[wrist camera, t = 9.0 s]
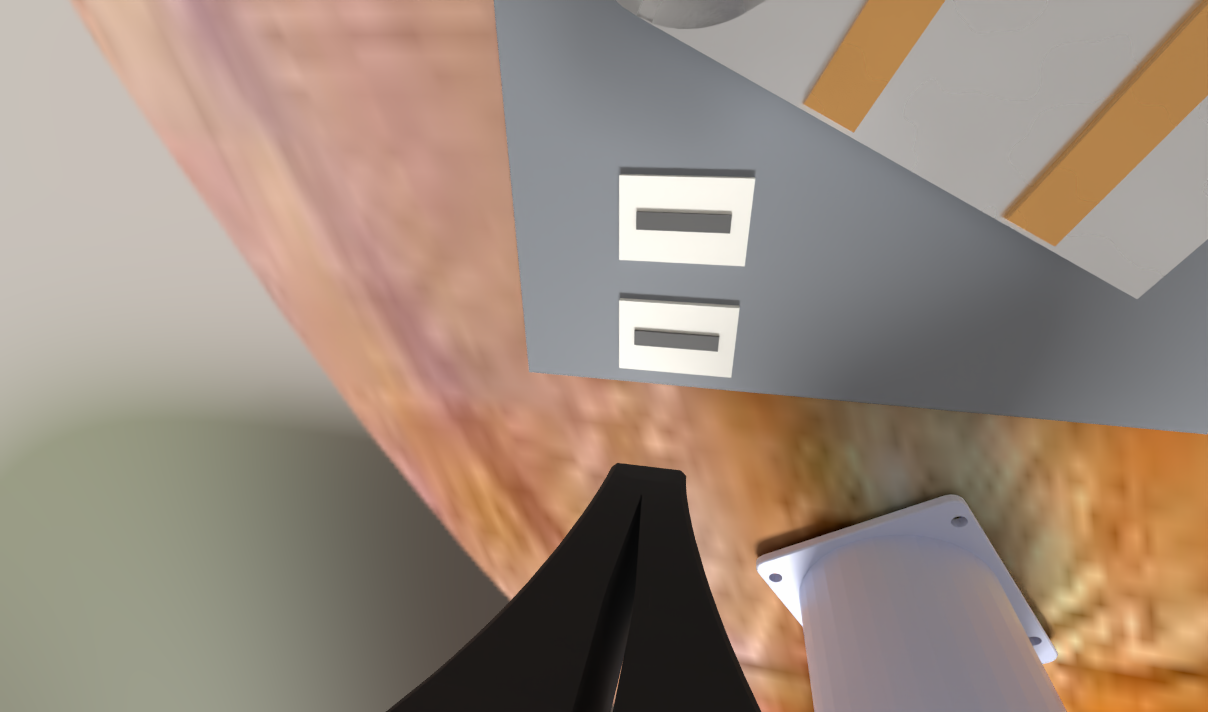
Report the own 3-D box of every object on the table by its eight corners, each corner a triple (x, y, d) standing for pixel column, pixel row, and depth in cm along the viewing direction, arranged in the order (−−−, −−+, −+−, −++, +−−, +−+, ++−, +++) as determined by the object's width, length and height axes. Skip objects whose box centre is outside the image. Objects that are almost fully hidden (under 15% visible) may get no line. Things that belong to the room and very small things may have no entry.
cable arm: (549, -35, 12) (521, -50, 11) (652, -347, 10) (637, -432, 8) (1094, 273, 13) (1149, 306, 11) (1321, 65, 11) (1437, 66, 9)
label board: (1606, -261, 9) (1727, -304, 8) (1181, 413, 16) (1215, 440, 15) (493, -160, 13) (471, -181, 11) (537, 358, 19) (526, 376, 18)
